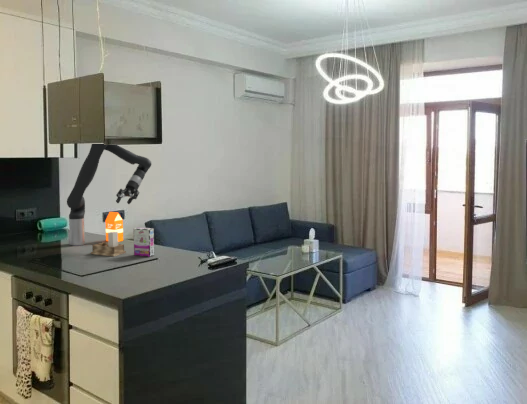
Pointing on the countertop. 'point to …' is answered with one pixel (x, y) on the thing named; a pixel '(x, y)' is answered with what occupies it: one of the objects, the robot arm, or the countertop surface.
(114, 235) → the clay bar
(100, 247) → the brown woven basket
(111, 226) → the orange juice
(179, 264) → the countertop surface
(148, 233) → the candy bar box
